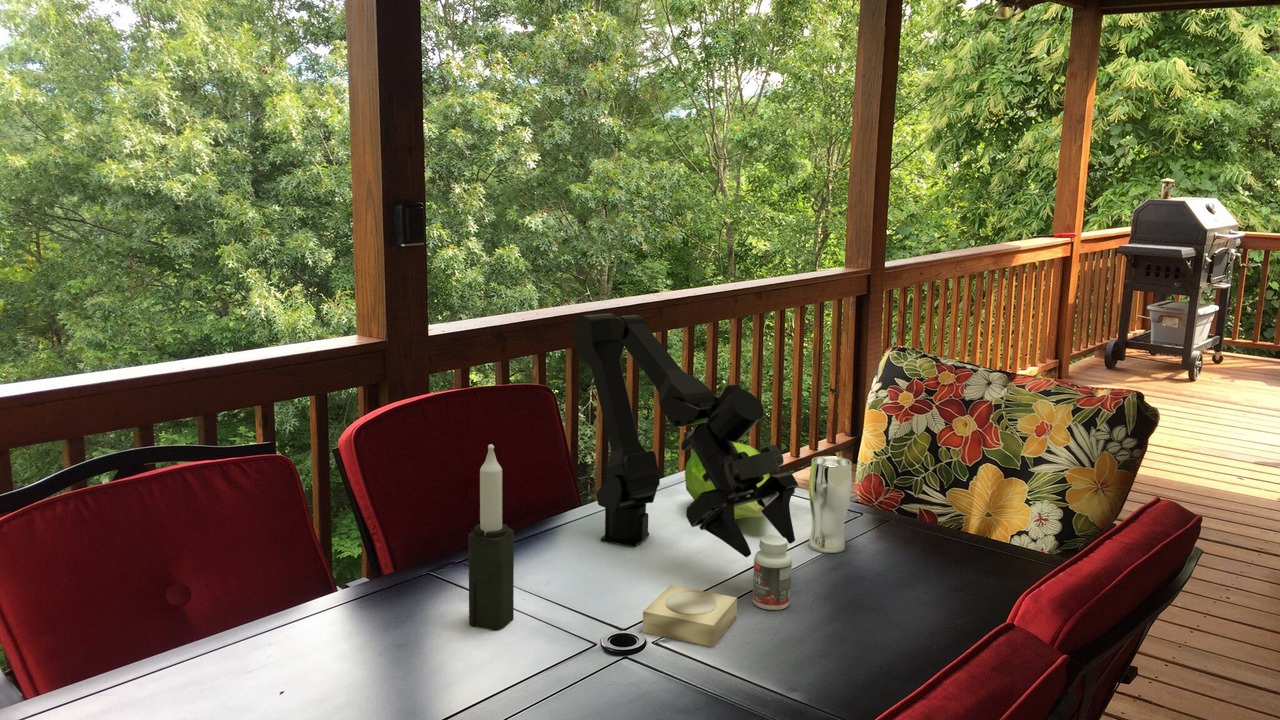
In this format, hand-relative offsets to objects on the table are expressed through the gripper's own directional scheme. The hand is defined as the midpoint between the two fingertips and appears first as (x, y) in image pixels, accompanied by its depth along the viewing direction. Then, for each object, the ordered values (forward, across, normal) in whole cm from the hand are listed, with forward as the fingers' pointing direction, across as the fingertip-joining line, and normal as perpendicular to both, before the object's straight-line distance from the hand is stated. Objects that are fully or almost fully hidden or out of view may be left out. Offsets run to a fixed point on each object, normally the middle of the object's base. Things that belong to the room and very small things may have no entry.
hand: (771, 548), depth 144 cm
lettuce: (-16, +23, +27) cm, 39 cm away
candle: (-7, -35, +19) cm, 41 cm away
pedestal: (+5, -14, +7) cm, 17 cm away
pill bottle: (+6, 0, +6) cm, 8 cm away
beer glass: (-1, +25, +13) cm, 28 cm away
